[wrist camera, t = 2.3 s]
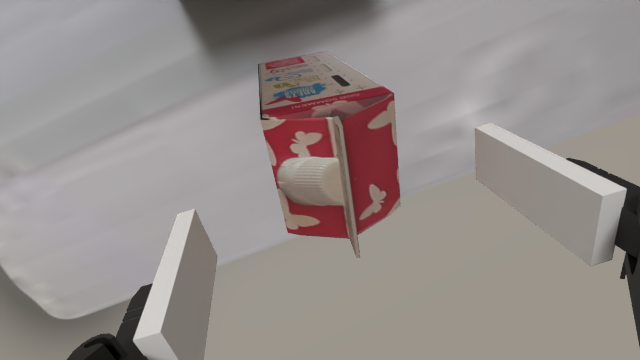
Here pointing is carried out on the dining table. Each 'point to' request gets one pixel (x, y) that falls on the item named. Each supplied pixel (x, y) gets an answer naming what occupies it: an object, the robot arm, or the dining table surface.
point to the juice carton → (329, 145)
